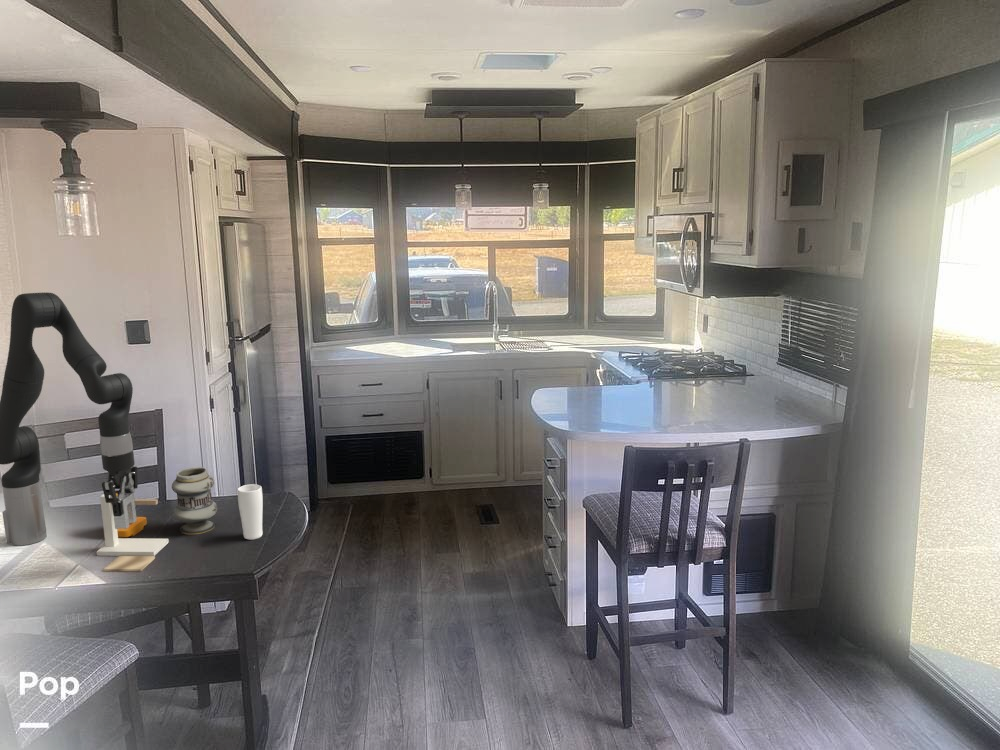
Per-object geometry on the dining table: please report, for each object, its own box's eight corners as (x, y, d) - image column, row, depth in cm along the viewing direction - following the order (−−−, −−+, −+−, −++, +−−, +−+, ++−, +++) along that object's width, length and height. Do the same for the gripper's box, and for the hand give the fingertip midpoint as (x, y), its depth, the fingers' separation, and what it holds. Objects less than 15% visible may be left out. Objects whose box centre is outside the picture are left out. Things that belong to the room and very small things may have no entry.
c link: (115, 529, 203) (111, 500, 201) (125, 520, 208) (122, 492, 207) (126, 529, 203) (122, 500, 201) (136, 520, 208) (133, 492, 207)
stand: (97, 555, 213) (90, 500, 210) (113, 542, 222) (108, 489, 219) (154, 555, 213) (148, 501, 210) (168, 542, 222) (163, 489, 219)
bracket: (128, 539, 224) (124, 500, 222) (104, 539, 225) (100, 500, 222) (148, 525, 235) (144, 488, 232) (125, 524, 235) (121, 487, 233)
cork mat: (103, 571, 204) (103, 569, 204) (119, 558, 212) (118, 556, 212) (140, 571, 204) (140, 569, 204) (155, 558, 212) (154, 556, 211)
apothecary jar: (170, 527, 233) (164, 470, 229) (209, 517, 240) (204, 462, 237) (184, 539, 224) (179, 480, 220) (225, 528, 231) (220, 471, 228)
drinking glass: (255, 542, 221) (252, 493, 218) (236, 539, 223) (232, 490, 220) (270, 533, 228) (266, 485, 225) (250, 530, 230) (247, 482, 227)
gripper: (117, 442, 209) (124, 501, 212) (87, 458, 194) (95, 521, 198) (144, 442, 208) (150, 501, 212) (117, 458, 194) (124, 521, 198)
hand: (124, 511), depth 205 cm, fingers closed on c link, 5 cm apart
